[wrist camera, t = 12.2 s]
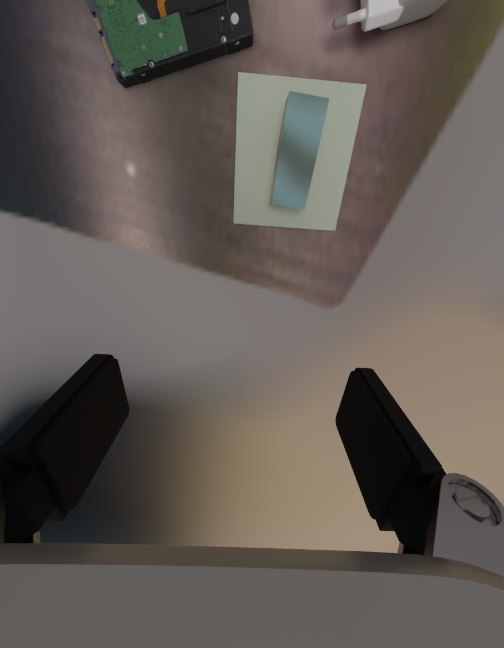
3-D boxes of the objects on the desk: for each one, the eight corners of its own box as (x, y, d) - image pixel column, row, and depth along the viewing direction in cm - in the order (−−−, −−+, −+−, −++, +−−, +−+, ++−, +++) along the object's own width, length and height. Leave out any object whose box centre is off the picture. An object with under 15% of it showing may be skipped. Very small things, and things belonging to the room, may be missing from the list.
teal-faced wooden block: (284, 105, 27) (289, 90, 23) (319, 112, 27) (329, 98, 24) (268, 204, 31) (271, 204, 28) (298, 208, 32) (304, 210, 28)
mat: (233, 223, 33) (233, 223, 33) (238, 74, 26) (238, 72, 26) (333, 230, 34) (335, 231, 33) (364, 86, 27) (366, 84, 26)
